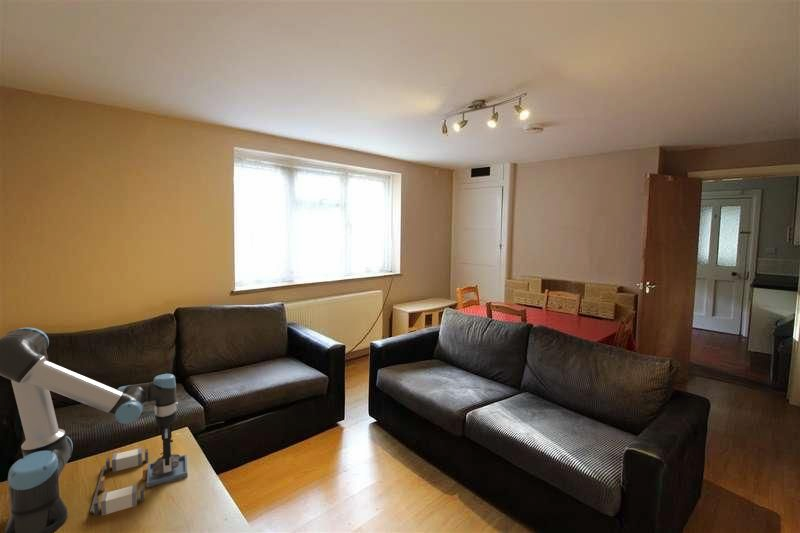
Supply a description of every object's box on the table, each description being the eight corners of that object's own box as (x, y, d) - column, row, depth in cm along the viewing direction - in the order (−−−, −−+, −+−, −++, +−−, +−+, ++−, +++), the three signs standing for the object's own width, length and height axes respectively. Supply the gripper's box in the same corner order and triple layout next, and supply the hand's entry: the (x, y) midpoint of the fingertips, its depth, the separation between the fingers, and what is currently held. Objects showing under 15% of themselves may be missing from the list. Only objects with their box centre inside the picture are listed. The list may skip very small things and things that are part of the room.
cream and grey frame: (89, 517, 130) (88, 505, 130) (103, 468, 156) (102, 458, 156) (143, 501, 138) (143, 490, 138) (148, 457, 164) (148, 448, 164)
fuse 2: (101, 516, 131) (100, 501, 130) (104, 506, 136) (103, 492, 135) (136, 505, 136) (136, 492, 136) (137, 496, 141) (137, 483, 140)
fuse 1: (112, 472, 154) (111, 459, 153) (114, 465, 159) (113, 453, 158) (141, 465, 159) (141, 453, 159) (142, 458, 164) (142, 446, 163)
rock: (183, 464, 154) (180, 456, 153) (152, 480, 148) (149, 471, 147) (180, 455, 161) (177, 447, 160) (151, 470, 155) (147, 461, 154)
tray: (146, 488, 145) (146, 483, 145) (148, 468, 157) (148, 463, 157) (187, 476, 152) (187, 472, 152) (186, 458, 164) (186, 454, 164)
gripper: (176, 422, 145) (178, 477, 147) (176, 400, 163) (178, 449, 166) (153, 427, 141) (155, 483, 143) (156, 403, 160) (157, 454, 162)
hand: (167, 465), depth 154 cm, fingers closed on rock, 9 cm apart
